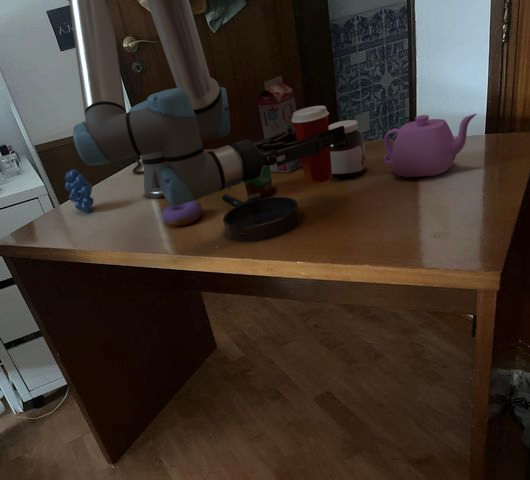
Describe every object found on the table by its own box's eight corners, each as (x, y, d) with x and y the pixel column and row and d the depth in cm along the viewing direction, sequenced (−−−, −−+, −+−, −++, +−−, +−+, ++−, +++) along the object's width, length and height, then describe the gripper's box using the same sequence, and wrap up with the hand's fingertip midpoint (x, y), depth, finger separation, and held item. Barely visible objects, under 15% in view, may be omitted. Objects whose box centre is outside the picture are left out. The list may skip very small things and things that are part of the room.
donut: (156, 222, 126) (153, 202, 124) (190, 216, 131) (188, 196, 129) (175, 230, 119) (173, 209, 117) (210, 223, 124) (209, 202, 122)
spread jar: (354, 181, 123) (349, 129, 117) (311, 182, 129) (304, 132, 123) (373, 164, 131) (369, 114, 125) (332, 165, 137) (326, 118, 131)
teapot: (377, 183, 119) (372, 129, 113) (392, 163, 129) (389, 112, 122) (471, 178, 110) (471, 119, 104) (480, 158, 119) (482, 102, 113)
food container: (272, 200, 124) (264, 157, 118) (247, 204, 125) (238, 161, 120) (281, 183, 134) (274, 142, 128) (258, 186, 135) (249, 146, 130)
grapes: (111, 208, 146) (94, 164, 139) (90, 217, 142) (72, 173, 136) (90, 204, 153) (73, 162, 147) (69, 213, 150) (52, 171, 143)
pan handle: (220, 203, 127) (218, 195, 126) (230, 199, 128) (228, 191, 127) (240, 214, 118) (238, 205, 117) (251, 210, 119) (250, 201, 117)
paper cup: (342, 172, 114) (334, 103, 107) (327, 185, 109) (317, 113, 102) (311, 173, 119) (301, 106, 111) (294, 185, 114) (282, 117, 106)
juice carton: (304, 163, 143) (291, 74, 131) (289, 172, 140) (273, 81, 128) (286, 163, 148) (271, 76, 135) (271, 171, 144) (254, 83, 132)
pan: (215, 228, 117) (211, 215, 115) (277, 204, 121) (275, 191, 119) (246, 248, 104) (243, 233, 102) (314, 220, 109) (312, 206, 107)
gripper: (220, 174, 114) (309, 143, 121) (263, 192, 98) (363, 155, 105) (211, 138, 110) (304, 108, 117) (255, 151, 94) (359, 115, 101)
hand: (332, 130), depth 111 cm, fingers closed on paper cup, 8 cm apart
